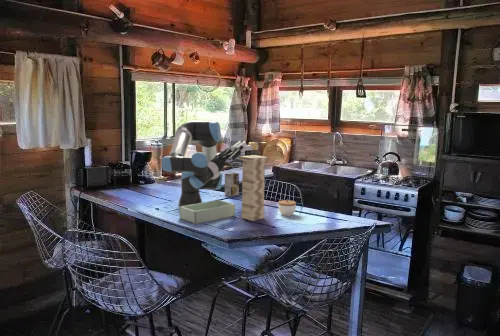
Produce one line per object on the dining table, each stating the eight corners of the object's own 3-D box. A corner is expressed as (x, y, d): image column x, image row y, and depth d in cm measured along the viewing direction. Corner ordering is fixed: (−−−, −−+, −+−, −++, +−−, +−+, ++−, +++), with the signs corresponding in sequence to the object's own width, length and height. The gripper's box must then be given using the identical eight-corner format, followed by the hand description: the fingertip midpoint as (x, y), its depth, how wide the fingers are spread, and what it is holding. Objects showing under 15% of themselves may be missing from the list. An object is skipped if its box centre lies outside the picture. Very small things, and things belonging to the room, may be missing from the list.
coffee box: (232, 193, 310) (232, 172, 307) (239, 194, 306) (239, 173, 303) (224, 195, 303) (224, 173, 301) (230, 196, 299) (230, 174, 296)
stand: (252, 221, 232) (253, 158, 227) (238, 217, 241) (239, 156, 236) (267, 218, 240) (268, 157, 235) (253, 214, 249) (254, 155, 244)
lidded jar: (294, 212, 255) (295, 197, 254) (296, 217, 245) (296, 201, 244) (277, 212, 256) (278, 197, 254) (278, 216, 245) (278, 201, 244)
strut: (235, 151, 222) (235, 144, 221) (229, 150, 226) (229, 143, 225) (259, 149, 234) (259, 142, 234) (253, 149, 238) (253, 142, 237)
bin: (194, 224, 226) (194, 211, 225) (179, 218, 236) (179, 206, 235) (235, 215, 245) (235, 204, 244) (219, 210, 256) (219, 199, 255)
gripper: (207, 170, 224) (236, 147, 236) (226, 174, 212) (255, 149, 224) (202, 159, 220) (231, 136, 233) (221, 162, 209) (250, 138, 221)
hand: (243, 143), depth 228 cm, fingers closed on strut, 3 cm apart
